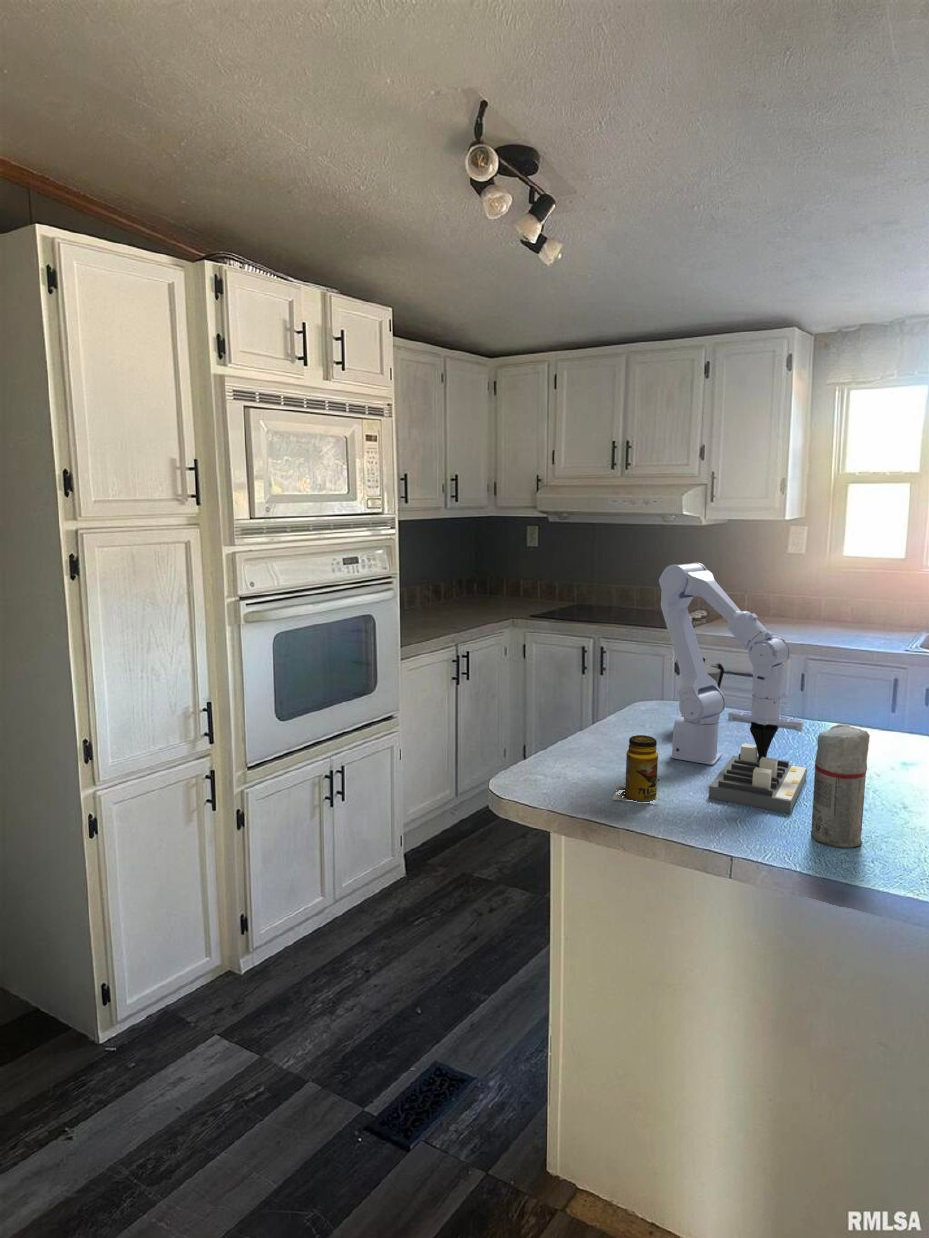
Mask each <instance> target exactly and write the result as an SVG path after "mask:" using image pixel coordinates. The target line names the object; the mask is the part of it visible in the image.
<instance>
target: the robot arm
mask: <svg viewBox="0 0 929 1238" xmlns="http://www.w3.org/2000/svg"><path fill="white" fill-rule="evenodd" d="M658 583H659V585H660V589H661V593H660V594H661V596H660V609H661V611H662V615H663V619H664V622H665V626H666V629H667V632H668V635H669V639H670V642H671V645H672V649H673V652H674V655H675V659H676V662H677V665H678V668H679V672H680V675H681V679H682V681H681V683H680V686H679V688H678V690H677V693H678V696H679V697H678V698H679V703H678V708H679V711H680V715H681V716H676V718H675V720H674V724H673V729H672V744H671V745H672V749H671V750H672V751H671V756H670V758H671V759H675V760H681V761H685V762H686V761H687V762H692V763H698V764H705V765H709V766H714V765H716V763H717V762H718V761H719V759H720V758H721V757H722V755H723V754H722V753H721V752H718V739H719V723H720V721H719V719H720V716H721V715H720V714H722V713H723V712H724V711H725V708H726V705H727V700H726V697H725V694H724V692H722V691H721V690H720V689H719V688H718V685H717V682H716V681H715V680H714V679H713V678H711V677H710V676H709V675H708V674H707V671H706V668H705V665H706V664H705V663H704V661H703V658H704V657H703V655H702V653H701V652H702V651H701V649H700V645H699V642H698V639H697V635H696V632H695V629H694V626H693V623H692V619H691V615H690V612H689V610H688V607H689V606H690V603H691V602H692V600H693V599H694V598H695V597H700V598H702V599H703V600H705V601H706V602H707V604H709V605H710V606H711V607H712V608H713V609H714V610H715V611H716V612H717V613H718V614H720V615H721V616H722V617H723V618H724V619H725V620H726V621H727V630H728V631H729V633H731V634H732V636H734V638H736V640H737V641H738V642H739V643H740V644H741V646H743V647H744V648H745V649H746V651H747V652H748V653H747V654H748V659H749V661H750V663H751V665H752V675H753V676H752V688H751V689H752V692H751V693H752V694H751V701H750V704H751V706H750V711H742V710H741V711H740V710H729V711H728V713H727V716H728V717H727V721H728V722H730V723H732V722H737V723H742V724H743V723H745V724H750V727H749V732H750V734H751V735H752V737H753V741H754V742H755V743H754V744H755V745H756V747H757V751H758V755H757V756H758V758H759V760H760V759H761V758H762V757H766V758H768V751H769V750H770V746H771V744H772V742H773V739H774V737H775V735H776V733H777V732H778V730H779V729H785V730H786V729H787V730H794V731H796V732H800V733H801V732H802V731H803V729H804V720H802V719H797V718H792V717H788V716H782V715H781V707H782V695H783V679H784V677H783V676H784V664H785V663H786V662H787V661H788V660H789V657H790V655H791V654H790V652H791V650H790V647H789V645H788V643H787V642H786V641H785V639H784V638H783V637H779V636H775V635H774V633H773V632H772V631H771V630H768V629H767V628H766V627H765V626H764V625H763V624H762V623H761V622H760V621H759V620H758V618H759V616H758V615H757V614H756V613H753V612H752V613H751V612H750V611H748V610H747V611H746V610H745V611H742V610H741V609H740V608H739V607H738V606H737V605H736V603H734V601H733V600H732V599H731V598H730V596H729V595H728V594H727V593H726V591H724V589H723V588H722V587H721V586H720V585H719V583H718V582H717V581H716V580H715V578H714V574H713V573H712V572H711V571H710V570H708V569H707V567H706V566H705V565H704V564H703V563H702V562H701V563H700V562H690V563H684V564H670V565H668V566H666V567H665V569H664V570H663V571H662V573H661V575H660V577H659V579H658ZM698 690H699V691H698ZM682 716H683V717H682Z"/></svg>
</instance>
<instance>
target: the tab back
mask: <svg viewBox="0 0 929 1238" xmlns="http://www.w3.org/2000/svg"><path fill="white" fill-rule="evenodd" d="M740 753H741V754H740V760H743V761H749V762H755V763H757V756H758V751H757V747H756V744H751V743H744V742H743V743H742V744H741V746H740Z"/></svg>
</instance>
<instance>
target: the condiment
mask: <svg viewBox="0 0 929 1238" xmlns="http://www.w3.org/2000/svg"><path fill="white" fill-rule="evenodd" d="M628 742H629V744H628V750H627V751H626V758H625V762H626V763H625V765H626V766H625V779H624V780H625V785H624V786H623V785H616V787H615V790H614V792H615V791H616V790H617V791H616V792H618V791H619V790H625V791H623V792H622V793H621V794H620V793H619V794H620V795H618V794H617V795H616V794H615V795H614V794H613V797H612V801H619V800H623V801H622V802H627V801H626V800H633V801H637V802H650V801H653V800H658V801H659V795H660V790H657V788H658V762H659V754H658V751H657V739H656V738H654V737H653V736H649V735H644V734H643V735H642V734H636V735H632V736H631V737H629V739H628ZM624 793H625V794H624ZM622 796H624V797H625V798H624V797H623V798H622ZM628 802H629V803H632V802H631V801H628ZM657 805H658V802H655V804H653V806H657Z"/></svg>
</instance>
